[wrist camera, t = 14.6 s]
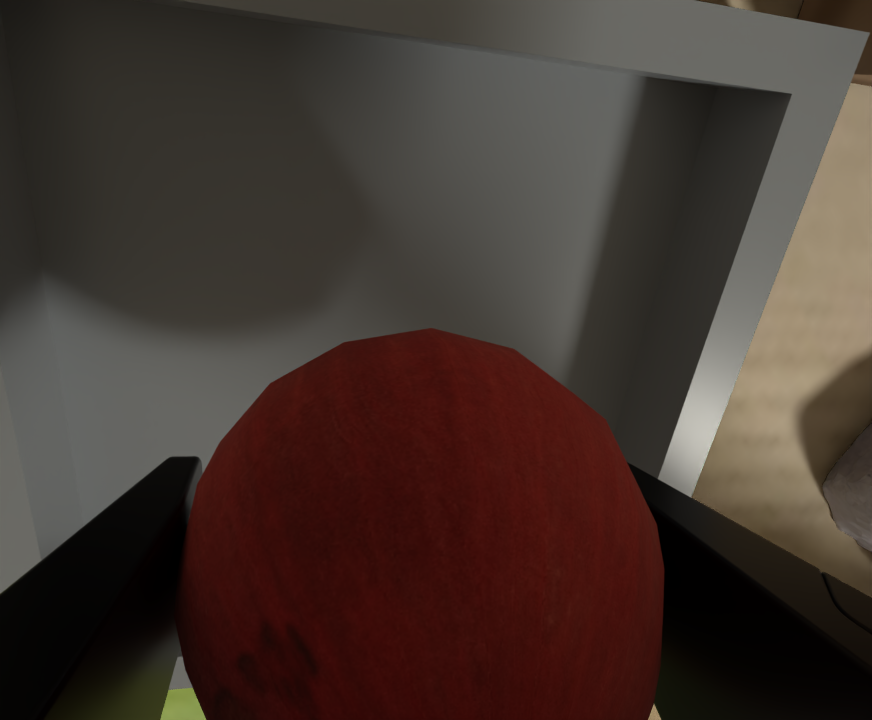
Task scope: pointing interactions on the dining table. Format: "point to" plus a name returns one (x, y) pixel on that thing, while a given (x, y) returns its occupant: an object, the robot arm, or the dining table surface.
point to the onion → (420, 547)
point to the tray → (382, 213)
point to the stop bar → (845, 26)
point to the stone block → (853, 490)
